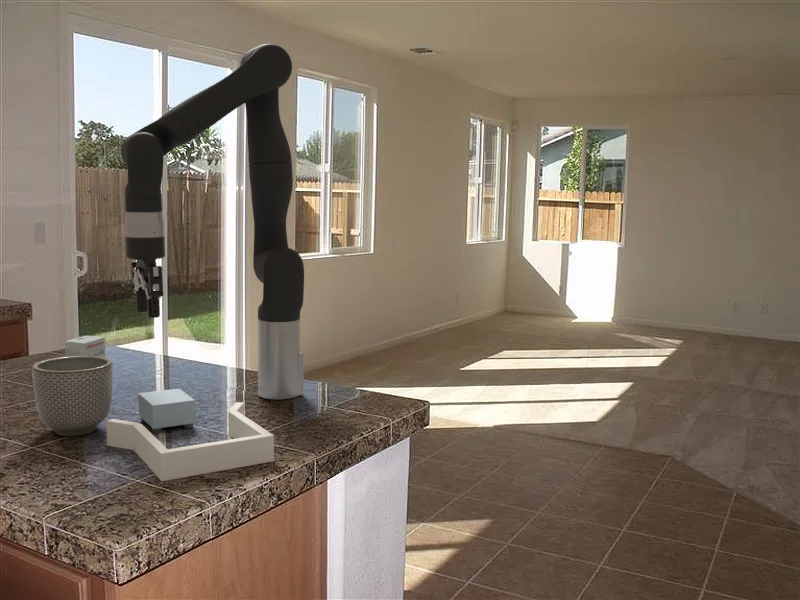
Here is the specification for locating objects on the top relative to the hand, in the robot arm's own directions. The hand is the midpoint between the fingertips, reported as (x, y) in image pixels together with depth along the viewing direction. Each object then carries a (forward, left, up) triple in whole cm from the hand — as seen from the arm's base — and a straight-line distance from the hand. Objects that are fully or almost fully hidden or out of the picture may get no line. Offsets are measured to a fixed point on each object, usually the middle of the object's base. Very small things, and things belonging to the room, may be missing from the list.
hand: (147, 314), depth 161 cm
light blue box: (0, +12, -20) cm, 23 cm away
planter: (+16, +8, -20) cm, 27 cm away
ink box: (+8, -22, -20) cm, 31 cm away
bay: (0, +30, -20) cm, 36 cm away
